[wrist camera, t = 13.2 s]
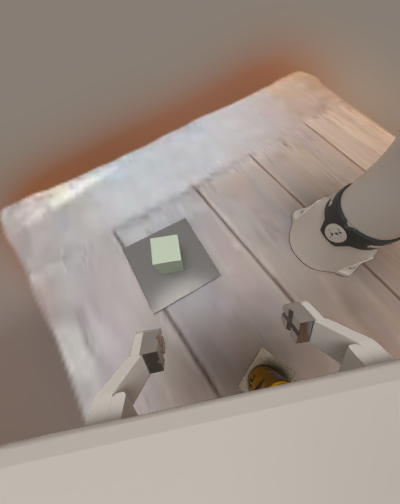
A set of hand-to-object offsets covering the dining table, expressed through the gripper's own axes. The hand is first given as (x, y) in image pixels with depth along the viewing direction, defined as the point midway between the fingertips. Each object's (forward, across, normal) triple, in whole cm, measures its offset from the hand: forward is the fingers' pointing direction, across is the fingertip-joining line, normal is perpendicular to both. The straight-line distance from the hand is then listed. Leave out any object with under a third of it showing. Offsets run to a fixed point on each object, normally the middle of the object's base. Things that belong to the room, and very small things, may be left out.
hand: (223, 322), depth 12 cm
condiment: (+10, -9, +28) cm, 31 cm away
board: (+28, +6, +10) cm, 30 cm away
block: (+27, +6, +10) cm, 29 cm away
